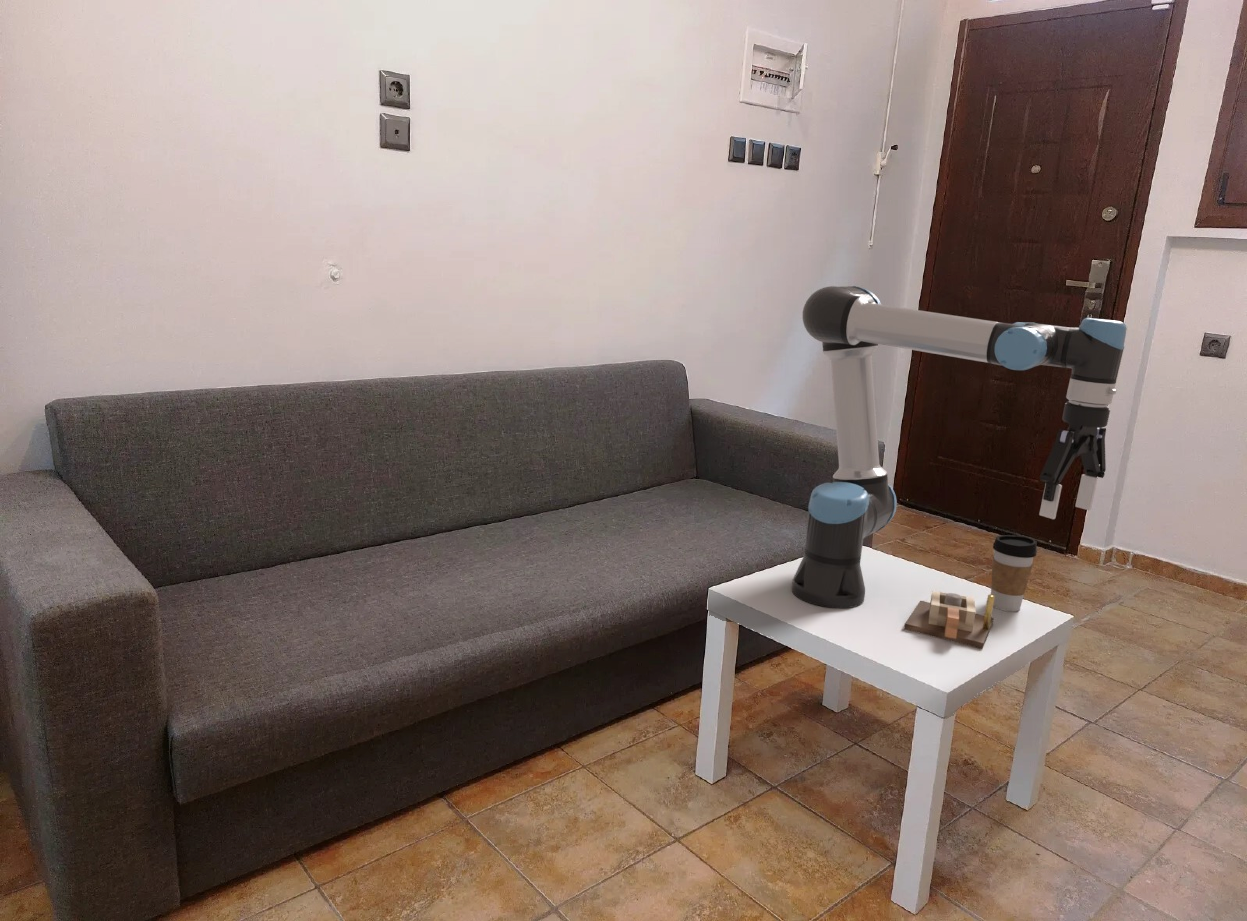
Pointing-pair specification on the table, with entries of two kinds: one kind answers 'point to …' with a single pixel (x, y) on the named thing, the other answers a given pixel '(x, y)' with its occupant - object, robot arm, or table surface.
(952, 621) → the hollow square frame
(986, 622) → the dowel
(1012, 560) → the coffee cup
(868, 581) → the table surface
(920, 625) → the base
